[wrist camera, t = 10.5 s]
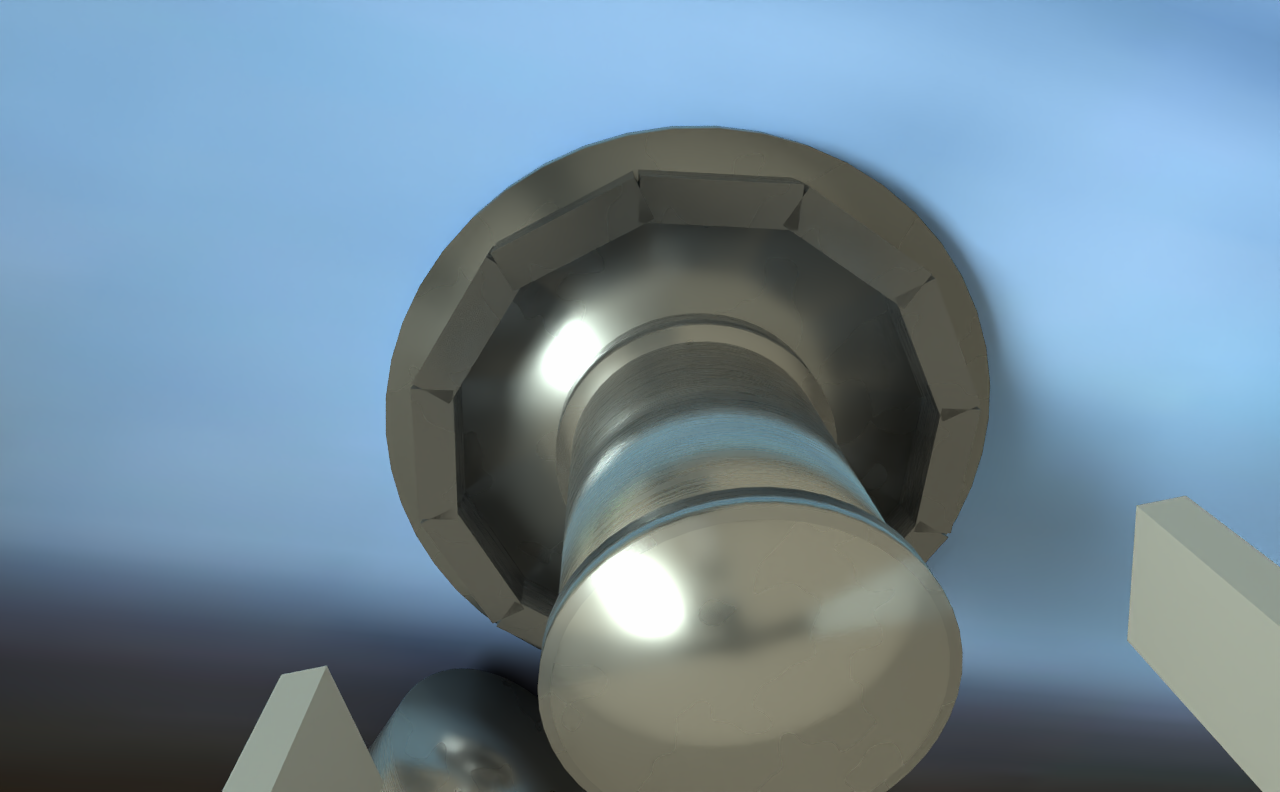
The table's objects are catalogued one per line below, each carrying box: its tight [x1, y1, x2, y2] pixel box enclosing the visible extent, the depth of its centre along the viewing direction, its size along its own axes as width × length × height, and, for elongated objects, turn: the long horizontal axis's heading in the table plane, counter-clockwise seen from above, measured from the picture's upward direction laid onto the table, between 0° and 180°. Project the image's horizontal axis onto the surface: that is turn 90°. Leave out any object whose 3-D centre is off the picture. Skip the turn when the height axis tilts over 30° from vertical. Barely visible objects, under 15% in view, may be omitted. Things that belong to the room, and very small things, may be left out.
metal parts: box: [368, 126, 990, 792], centre depth 20 cm, size 25×16×6 cm, turn 147°
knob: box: [538, 313, 962, 792], centre depth 17 cm, size 7×7×9 cm
